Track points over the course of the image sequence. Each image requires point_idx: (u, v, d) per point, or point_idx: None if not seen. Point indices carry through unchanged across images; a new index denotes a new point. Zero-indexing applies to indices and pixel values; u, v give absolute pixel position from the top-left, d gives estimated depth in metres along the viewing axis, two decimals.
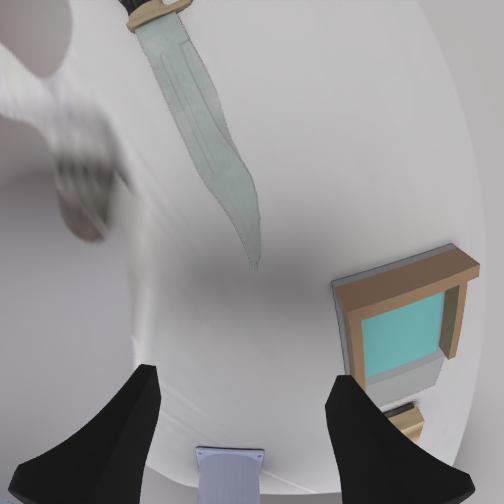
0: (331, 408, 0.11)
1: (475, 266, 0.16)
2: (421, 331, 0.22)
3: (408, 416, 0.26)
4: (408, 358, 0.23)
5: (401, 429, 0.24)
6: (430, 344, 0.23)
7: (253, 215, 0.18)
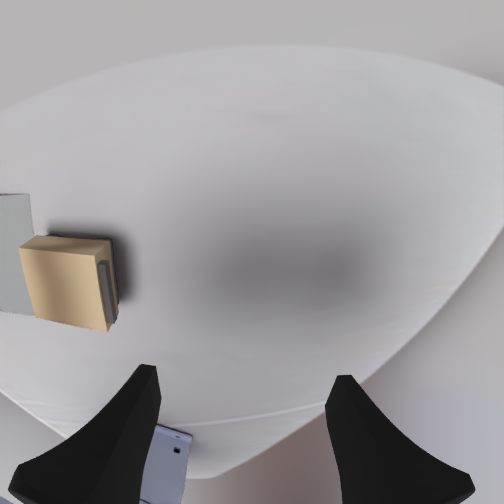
0: (331, 408, 0.11)
1: None
2: None
3: None
4: None
5: None
6: None
7: None
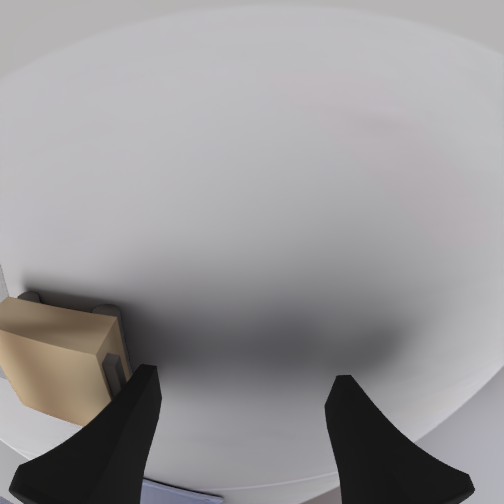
0: (331, 408, 0.11)
1: None
2: None
3: None
4: None
5: None
6: None
7: None
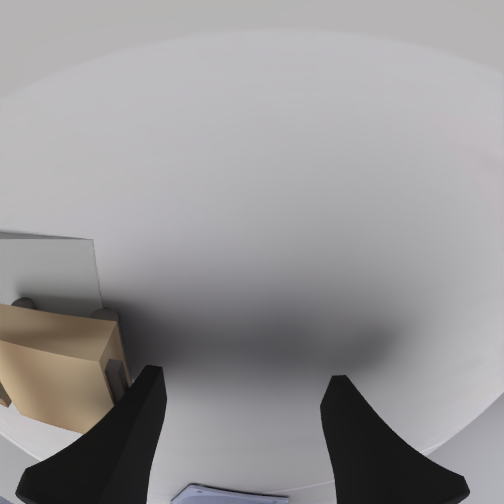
0: (326, 408, 0.11)
1: None
2: None
3: None
4: None
5: None
6: None
7: None
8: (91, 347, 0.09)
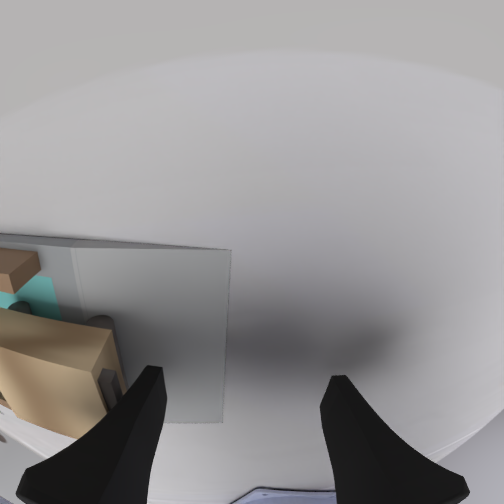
0: (326, 408, 0.11)
1: None
2: (11, 303, 0.11)
3: None
4: None
5: None
6: (34, 289, 0.10)
7: None
8: (84, 356, 0.08)
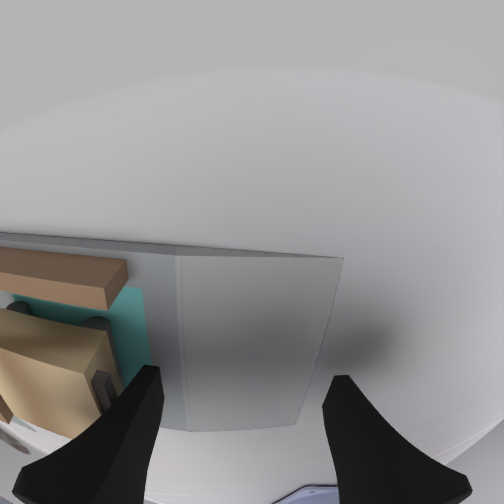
0: (328, 408, 0.11)
1: None
2: (75, 316, 0.11)
3: None
4: (138, 350, 0.11)
5: None
6: (114, 301, 0.10)
7: None
8: (78, 357, 0.08)
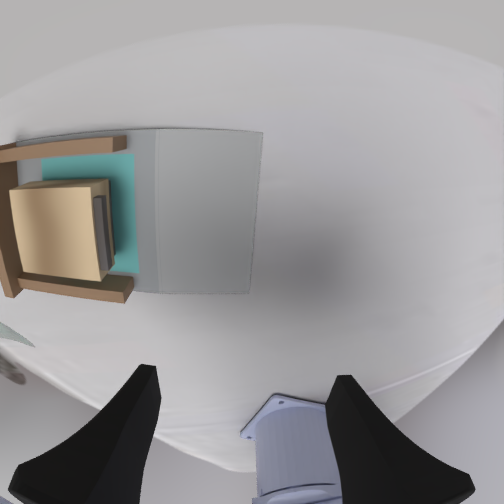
0: (331, 408, 0.11)
1: None
2: None
3: None
4: (127, 204, 0.17)
5: (17, 234, 0.14)
6: (115, 166, 0.16)
7: (6, 329, 0.22)
8: (87, 184, 0.13)
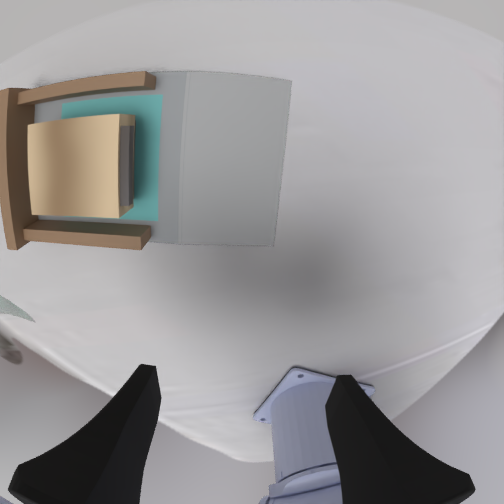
0: (331, 408, 0.11)
1: None
2: None
3: None
4: (151, 145, 0.16)
5: (29, 172, 0.13)
6: (142, 106, 0.15)
7: (5, 302, 0.21)
8: None
